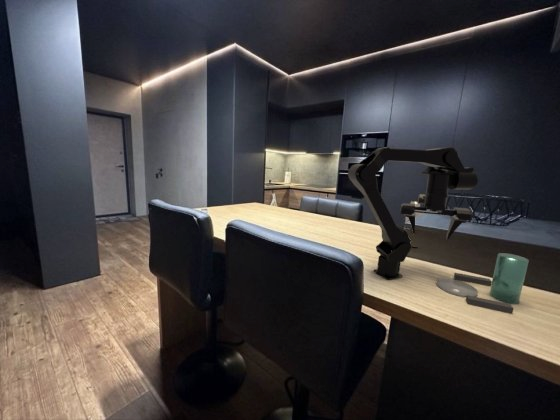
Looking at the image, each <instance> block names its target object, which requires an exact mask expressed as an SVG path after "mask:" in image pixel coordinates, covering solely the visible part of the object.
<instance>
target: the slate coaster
mask: <svg viewBox="0 0 560 420" xmlns="http://www.w3.org/2000/svg"><path fill="white" fill-rule="evenodd" d="M435 284H437V285H436V286H437V287H438V288H439V289H440V290H442V291H444V292H445V293H448V294H451V295H453V296H457V297H461V298H466V296H467V295H469V296H474V297H478V294H479V291H478V289H477V288H476V287H475V286H473V285H471V284H469V283H468V282H466V281H461V280H455V278H447V277H446V278H445V277H443V278H437V280H436V281H435Z"/></svg>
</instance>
